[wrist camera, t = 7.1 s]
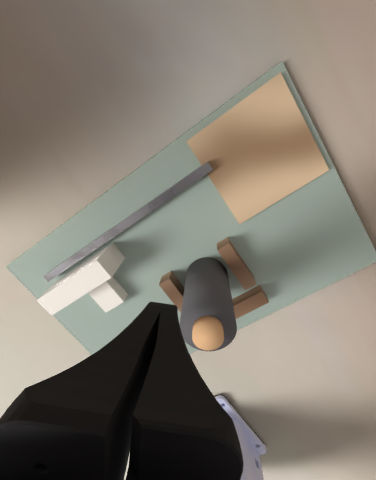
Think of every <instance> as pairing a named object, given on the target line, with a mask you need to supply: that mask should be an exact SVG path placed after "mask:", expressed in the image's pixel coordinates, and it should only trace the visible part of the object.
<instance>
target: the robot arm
mask: <svg viewBox="0 0 376 480" xmlns="http://www.w3.org/2000/svg"><path fill="white" fill-rule="evenodd" d="M129 452H130V460H129V468H128V472H127V477H126V480H264V478H263V473H262V467H261V461H260V455H263V454H265V453H266V452H267V449H266V446H265V445H264V444H263V443H262V441H261V440H260V439H259V438H258V437H257V435H256V434H255V433H254V432H253V431H252V430H251V428H250V427H249V426H248V425H247V424H246V422H245V421H244V420H243V419H242V418H241V416H240V415H239V414H238V413H237V412H236V410H235V409H234V408H233V407H232V406H231V404H230V403H229V402H228V401H227V400H226V398H225V397H224V396H222V395H218V396H216V397H214V396H213V394H212V393H211V392H210V390H209V388H208V387H207V385H206V384H205V382H204V381H203V379H202V377H201V376H200V374H199V372H198V370H197V369H196V367H195V365H194V363H193V361H192V359H191V356H190V354H189V352H188V349H187V347H186V344H185V341H184V338H183V335H182V332H181V328H180V324H179V319H178V307H177V306H176V305H172V304H165V303H157V302H149V303H148V304H147V306H146V307H145V308H144V309H143V310H142V312H141V313H140V314H139V315H138V316H137V317H136V318H135V319H134V320H133V321H132V322H131V323H130V324H129V325H128V326H127V327H126V328H125V329H124V330H123V331H122V332H121V333H120V334H119V335H117V336H116V337H115V338H114V339H113V340H112V341H110V342H109V343H108V344H106V345H105V346H104V347H102V348H101V349H100V350H98V351H97V352H95V353H94V354H92V355H91V356H89V357H88V358H86V359H85V360H83V361H81V362H80V363H78V364H76V365H74V366H73V367H71V368H69V369H67V370H65V371H63V372H61V373H59V374H57V375H55V376H53V377H51V378H48V379H46V380H44V381H41V382H39V383H37V384H34V385H32V386H29V387H27V388H25V389H24V390H23V392H22V393H21V394H20V395H19V396H18V397H17V398H16V399H15V400H14V401H13V403H12V404H11V405H10V406H9V408H8V409H7V410H6V412H5V413H4V414H3V416H2V417H1V418H0V480H124V475H125V471H126V466H127V461H128V457H129Z"/></svg>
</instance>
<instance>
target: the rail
mask: <svg viewBox="0 0 376 480" xmlns="http://www.w3.org/2000/svg"><path fill="white" fill-rule="evenodd" d="M212 170H213V169H212V167H211V166H210V164H209V162H206V163H205V164H203V165H201V166H200V167H198V168H197V169H196V170H194V171H193V172H191V173H190V174H188V175H187V176H186V177H184V178H183V179H181V180H180V181H178V182H177V183H175V184H174V185H173V186H171V187H170V188H168V189H167V190H165V191H164V192H163V193H161V194H160V195H158V196H157V197H155V198H154V199H152V200H151V201H150V202H148V203H147V204H145V205H144V206H142V207H141V208H140V209H138V210H137V211H135V212H134V213H132V214H131V215H129V216H128V217H127V218H125V219H124V220H122V221H121V222H119V223H118V224H117V225H115V226H114V227H112V228H111V229H109V230H108V231H106V232H105V233H104V234H102V235H101V236H99V237H98V238H96V239H95V240H94V241H92V242H91V243H89V244H88V245H86V246H85V247H83V248H82V249H81V250H79V251H78V252H76V253H75V254H73V255H72V256H71V257H69V258H68V259H66V260H65V261H63V262H62V263H60V264H59V265H58V266H56V267H55V268H53V269H52V270H50V271H49V272H48V273H47V274H45V275H44V276H43V277H44V278H45V279H46V280H47V281H48V282H49V281H50V280H52V279H53V278H55V277H56V276H58V275H59V274H61V273H62V272H64V271H65V270H66V269H68V268H69V267H71V266H72V265H74V264H75V263H77V262H78V261H80V260H81V259H83V258H84V257H86V256H87V255H88V254H90V253H91V252H93V251H94V250H96V249H97V248H99V247H100V246H102V245H103V244H105V243H106V242H108V241H109V240H110V239H112V238H113V237H115V236H116V235H118V234H119V233H121V232H122V231H124V230H125V229H127V228H128V227H129V226H131V225H132V224H134V223H135V222H137V221H138V220H140V219H141V218H143V217H144V216H146V215H147V214H149V213H150V212H151V211H153V210H154V209H156V208H157V207H159V206H160V205H162V204H163V203H165V202H166V201H168V200H169V199H171V198H172V197H173V196H175V195H176V194H178V193H179V192H181V191H182V190H184V189H185V188H187V187H188V186H190V185H191V184H192V183H194V182H195V181H197V180H198V179H200V178H201V177H203V176H204V175H206V174H207V173H209V172H210V171H212Z"/></svg>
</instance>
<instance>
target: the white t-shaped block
mask: <svg viewBox="0 0 376 480" xmlns="http://www.w3.org/2000/svg"><path fill="white" fill-rule="evenodd" d="M124 259H125V257H124V255H123V254H122V253H121V252H120V250H119V249H118V248H117V247H116V246H115V244H114V243H111V244H110V245H108V246H107V247H106V248H104V249H103V250H101V251H100V252H98V253H97V254H95V255H94V256H92V257H91V258H89V259H88V260H86V261H85V262H83V263H82V264H80V265H79V266H77V267H76V268H74V269H73V270H72V271H70V272H69V273H67V274H66V275H64V276H63V277H61V278H60V279H59V280H58V281H57V282H56V283H54V284H53V285H52V286H51V287H50V288H49V289H48V290H47V291H46V292H45V293H44V294H43V295H42V296H41V297H39V298H38V299H37V301H38V302H39V304H40V305H41V306H42V307H43V308H44V309H45V310H46V311H47V312H48V313H49V314H50V315H51V316H52V315H54V314H55V313H57V312H58V311H60V310H61V309H63V308H65V307H66V306H68V305H69V304H71V303H72V302H74V301H76V300H77V299H79V298H80V297H82V296H84V295H85V294H87V293H88V294H89V295H90V296H91V297H92V298H93V299H94V300H95V301H96V303H97V304H98V305H99V306H100V307H101V308H102V309H103V310H104V311H105V313H106V312H108V311H110V310H111V309H113V308H115V307H116V306H118V305H120V304H121V303H123V302H124V301H125V299H126V297H127V295H128V294H127V292H126V291H125V290H124V289H123V288H122V287H121V285H120V284H119V283H118V282H117V281H116V279H115V278H114V277H113V275H114V273H115V272H116V271H117V269H118V268H119V266H120V265H121V263H122V262H123V260H124Z"/></svg>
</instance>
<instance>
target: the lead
mask: <svg viewBox="0 0 376 480" xmlns="http://www.w3.org/2000/svg"><path fill="white" fill-rule="evenodd" d="M180 328H181V332H182V335H183V338H184V341H185V342H186V343H187V344H188V345H190V346H191V347H193V348H195V349H198V350H202V351H215V350H219V349H222V348H224V347H226V346H227V345H229V344H230V343H231V342H232V340H233V339H234V337H235V335H236V332H237V324H236V318H235V313H234V307H233V301H232V296H231V290H230V284H229V279H228V273H227V270H226V267H225V266H224V265H223V264H222V263H221V262H220V261H219V260H217V259H214V258H210V257H203V258H199V259H197V260H195V261H194V262H192V263H191V265H190V266H189V267H188V269H187V274H186V281H185V288H184V295H183V302H182V310H181V317H180Z"/></svg>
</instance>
